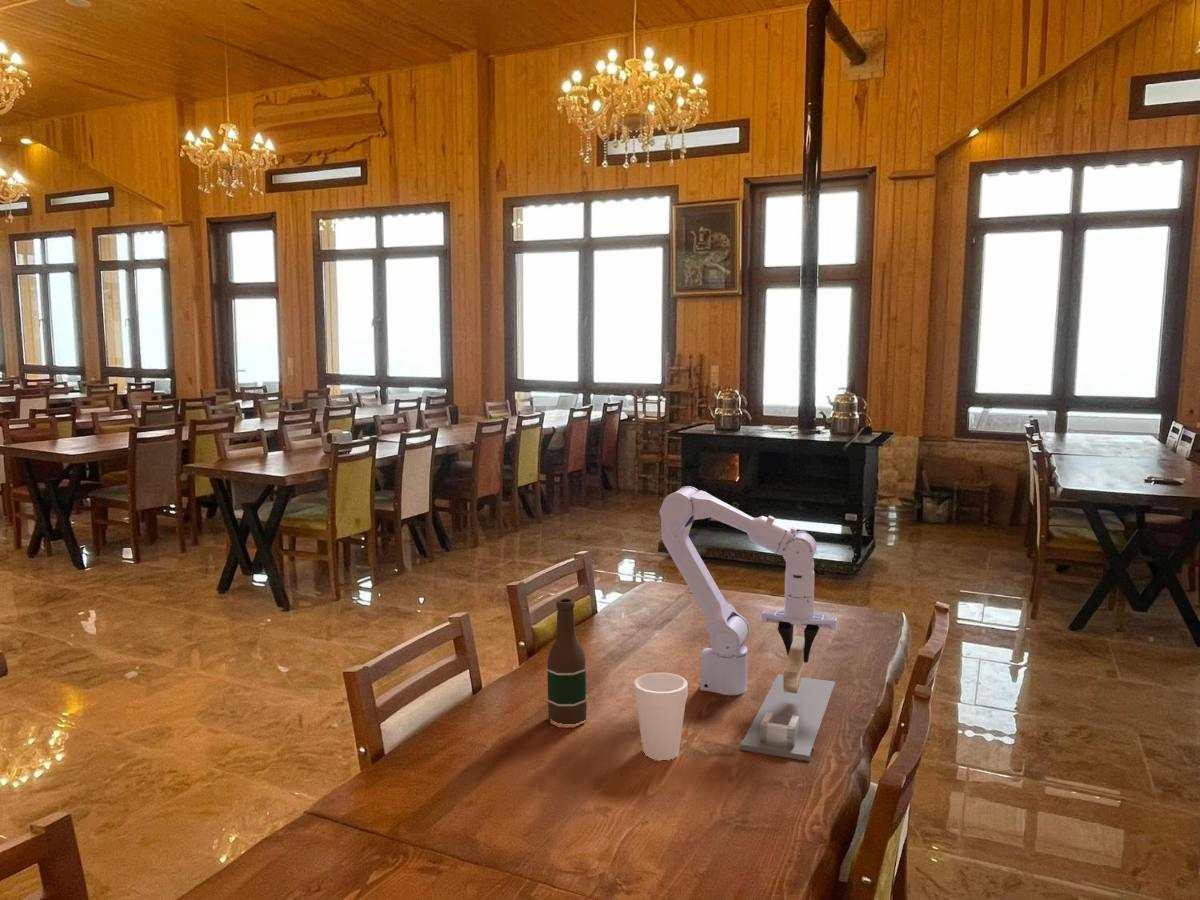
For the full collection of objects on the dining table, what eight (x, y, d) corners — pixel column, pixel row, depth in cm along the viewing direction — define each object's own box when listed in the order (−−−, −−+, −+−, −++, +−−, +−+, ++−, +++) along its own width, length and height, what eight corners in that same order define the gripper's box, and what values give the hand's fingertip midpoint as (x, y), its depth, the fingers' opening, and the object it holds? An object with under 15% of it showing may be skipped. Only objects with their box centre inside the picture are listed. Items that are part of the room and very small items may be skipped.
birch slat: (783, 691, 162) (783, 670, 161) (794, 655, 175) (794, 635, 173) (796, 693, 161) (796, 672, 160) (806, 657, 174) (806, 637, 172)
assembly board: (740, 749, 152) (741, 744, 152) (778, 678, 184) (778, 674, 184) (809, 761, 148) (809, 755, 148) (835, 686, 180) (835, 681, 180)
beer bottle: (594, 715, 167) (592, 597, 164) (576, 732, 160) (574, 608, 157) (559, 709, 170) (556, 592, 167) (540, 725, 163) (537, 603, 160)
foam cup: (651, 770, 145) (651, 697, 144) (625, 747, 154) (624, 678, 152) (698, 757, 150) (698, 686, 148) (669, 736, 158) (669, 668, 156)
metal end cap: (760, 742, 153) (760, 724, 152) (766, 729, 158) (766, 711, 157) (793, 748, 150) (793, 729, 150) (798, 734, 156) (799, 716, 155)
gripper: (759, 596, 168) (758, 662, 170) (834, 603, 163) (833, 671, 165) (765, 586, 175) (764, 650, 176) (838, 593, 170) (837, 658, 171)
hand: (798, 659), depth 171 cm, fingers closed on birch slat, 2 cm apart
